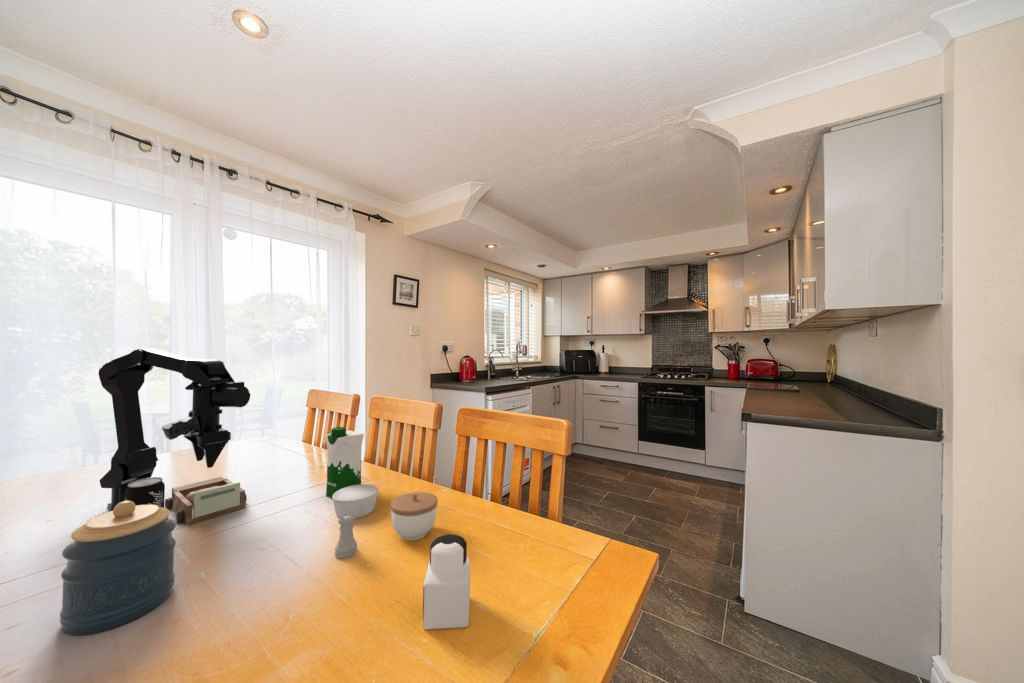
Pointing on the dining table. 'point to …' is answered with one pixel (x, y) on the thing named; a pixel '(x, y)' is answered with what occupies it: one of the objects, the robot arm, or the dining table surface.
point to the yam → (191, 495)
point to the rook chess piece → (346, 537)
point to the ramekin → (355, 500)
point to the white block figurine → (447, 584)
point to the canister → (117, 568)
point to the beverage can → (146, 492)
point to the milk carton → (343, 459)
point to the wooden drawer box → (186, 508)
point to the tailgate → (216, 499)
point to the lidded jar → (413, 514)
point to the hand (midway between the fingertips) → (204, 463)
